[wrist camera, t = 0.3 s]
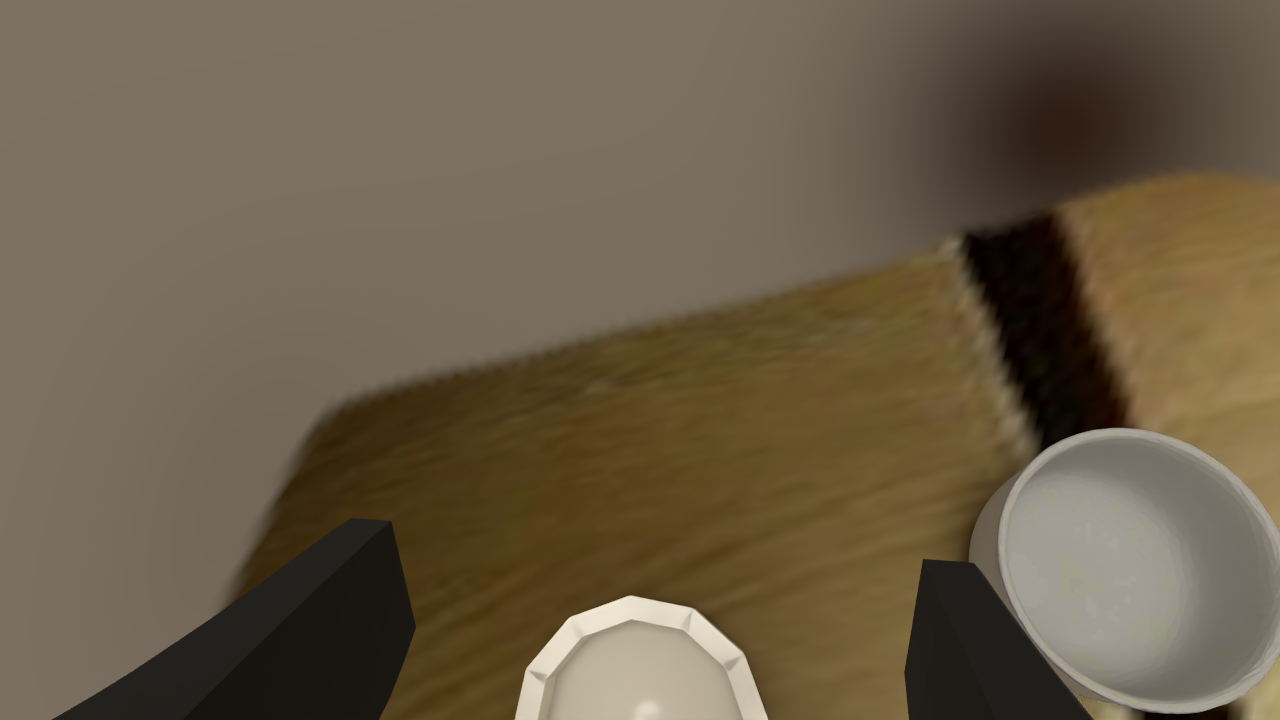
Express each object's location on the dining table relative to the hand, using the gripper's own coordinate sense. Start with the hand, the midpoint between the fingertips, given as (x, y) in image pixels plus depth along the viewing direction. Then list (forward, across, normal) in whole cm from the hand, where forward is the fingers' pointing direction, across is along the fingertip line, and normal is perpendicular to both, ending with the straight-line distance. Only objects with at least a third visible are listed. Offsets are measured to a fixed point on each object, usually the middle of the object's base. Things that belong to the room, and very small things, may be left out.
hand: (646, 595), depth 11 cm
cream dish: (+17, +3, +25) cm, 31 cm away
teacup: (+23, -18, +20) cm, 36 cm away
